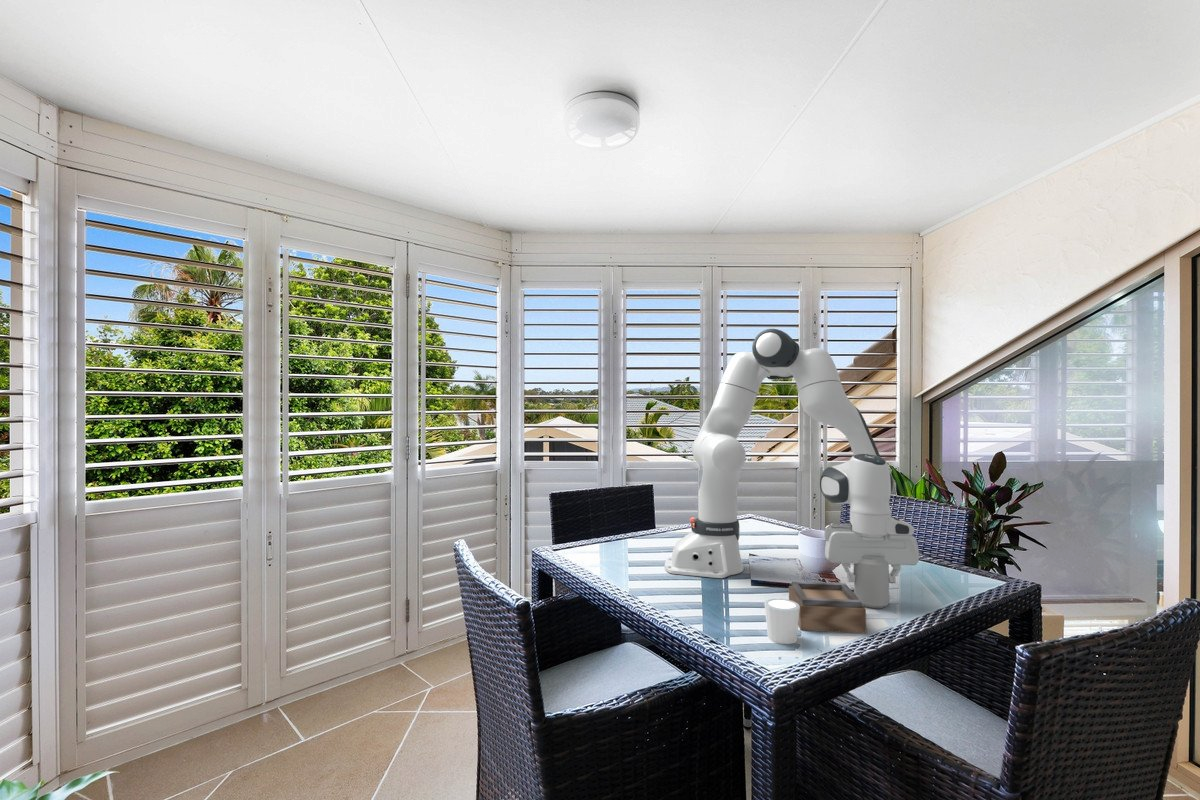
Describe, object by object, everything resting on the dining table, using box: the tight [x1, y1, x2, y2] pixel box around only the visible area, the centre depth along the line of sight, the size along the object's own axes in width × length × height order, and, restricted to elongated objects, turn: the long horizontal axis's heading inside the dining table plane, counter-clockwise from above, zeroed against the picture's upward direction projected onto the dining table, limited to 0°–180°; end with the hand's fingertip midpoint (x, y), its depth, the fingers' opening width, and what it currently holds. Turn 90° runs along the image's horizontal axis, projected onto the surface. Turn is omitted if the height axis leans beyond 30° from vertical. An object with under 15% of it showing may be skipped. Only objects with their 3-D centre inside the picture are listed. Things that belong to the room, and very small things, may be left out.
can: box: [853, 556, 890, 609], centre depth 132 cm, size 8×8×12 cm
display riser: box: [788, 581, 867, 634], centre depth 123 cm, size 13×13×6 cm
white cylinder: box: [764, 598, 800, 645], centre depth 114 cm, size 7×7×7 cm
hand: (871, 582), depth 132 cm, fingers closed on can, 7 cm apart
